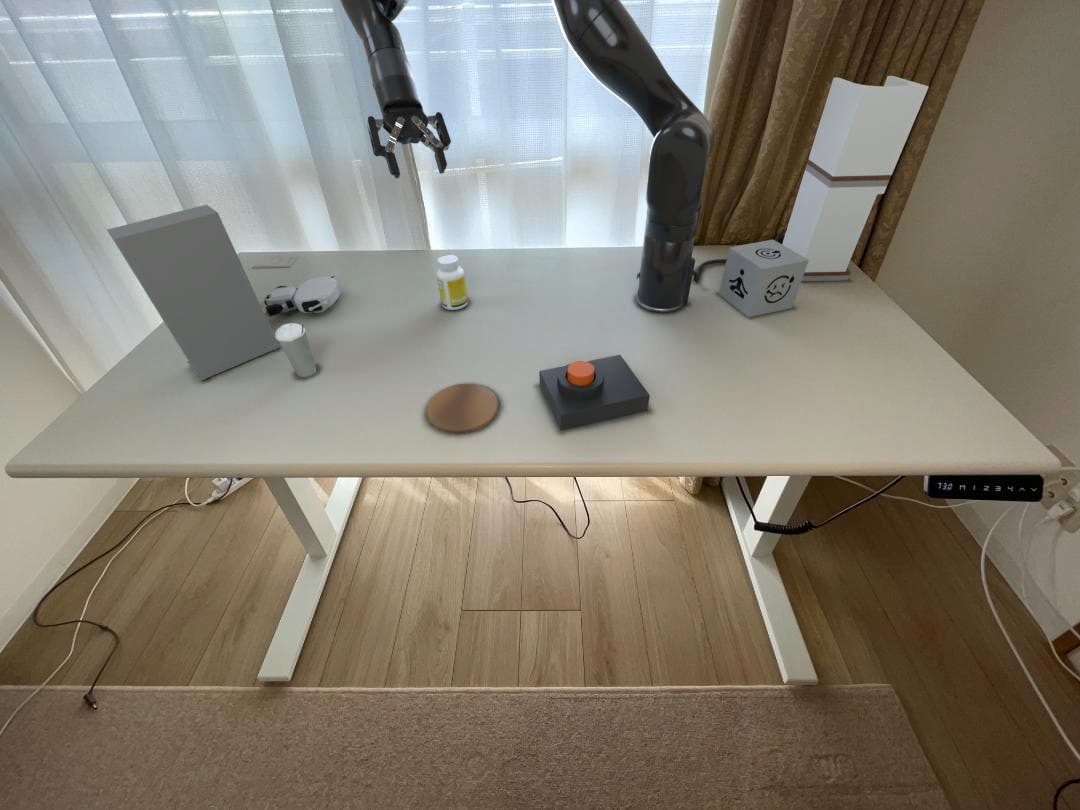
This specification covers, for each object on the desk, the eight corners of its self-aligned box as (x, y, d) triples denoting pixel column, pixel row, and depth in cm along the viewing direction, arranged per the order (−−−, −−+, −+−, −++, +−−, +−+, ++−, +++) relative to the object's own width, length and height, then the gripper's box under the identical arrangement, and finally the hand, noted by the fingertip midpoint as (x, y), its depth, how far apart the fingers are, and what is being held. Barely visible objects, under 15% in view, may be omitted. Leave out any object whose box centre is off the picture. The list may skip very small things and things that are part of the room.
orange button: (588, 367, 76) (588, 358, 75) (597, 383, 73) (598, 373, 72) (563, 372, 75) (564, 363, 74) (572, 388, 72) (572, 379, 71)
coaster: (489, 381, 82) (489, 378, 81) (505, 424, 74) (504, 421, 73) (423, 394, 80) (423, 391, 79) (432, 440, 72) (431, 437, 71)
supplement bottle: (472, 299, 103) (466, 255, 96) (461, 312, 99) (454, 267, 92) (449, 296, 104) (441, 252, 98) (437, 308, 100) (428, 263, 94)
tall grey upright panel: (268, 335, 94) (205, 203, 78) (281, 348, 91) (219, 212, 74) (190, 367, 87) (104, 228, 71) (201, 381, 84) (113, 239, 67)
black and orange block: (618, 369, 83) (621, 345, 80) (647, 410, 75) (651, 385, 72) (539, 386, 80) (538, 361, 77) (560, 430, 72) (560, 405, 69)
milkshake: (315, 381, 83) (294, 331, 76) (287, 378, 84) (264, 328, 77) (329, 365, 86) (310, 316, 80) (302, 362, 87) (281, 313, 80)
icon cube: (759, 285, 104) (773, 239, 97) (791, 308, 96) (808, 260, 90) (718, 293, 101) (729, 247, 95) (748, 317, 94) (762, 269, 88)
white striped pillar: (847, 280, 104) (928, 86, 81) (796, 281, 104) (863, 88, 81) (824, 257, 113) (892, 75, 90) (777, 258, 113) (833, 77, 90)
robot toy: (262, 330, 97) (337, 318, 98) (251, 310, 94) (328, 298, 95) (279, 299, 107) (347, 289, 107) (269, 280, 104) (339, 270, 104)
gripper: (355, 73, 84) (383, 168, 85) (436, 71, 89) (461, 160, 90) (354, 100, 90) (380, 187, 92) (429, 96, 96) (453, 179, 97)
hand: (420, 173), depth 91 cm, fingers open, 8 cm apart
